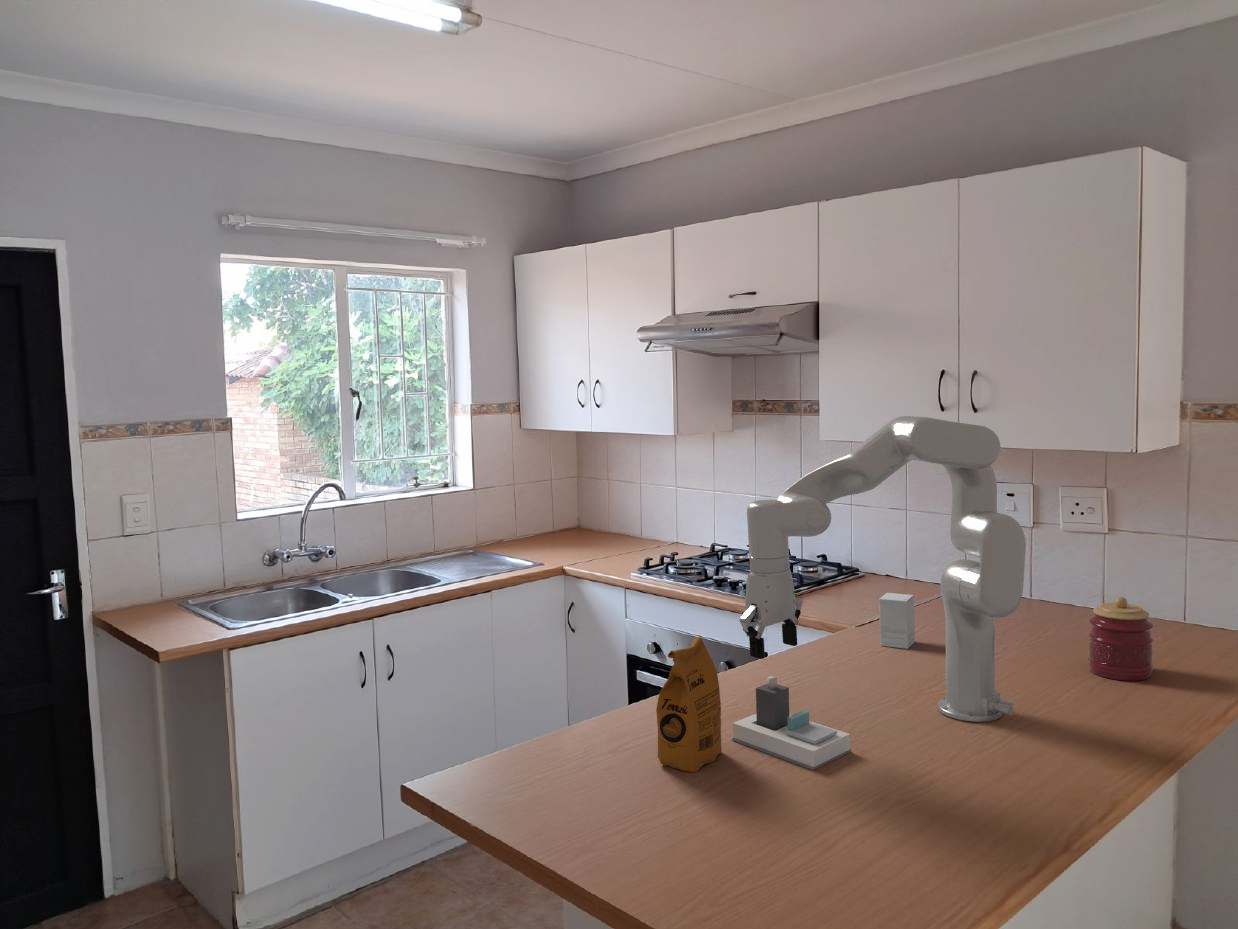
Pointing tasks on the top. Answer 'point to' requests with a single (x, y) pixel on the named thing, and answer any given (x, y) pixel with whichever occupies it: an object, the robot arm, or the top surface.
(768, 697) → the plug
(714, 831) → the top surface
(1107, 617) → the canister
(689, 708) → the coffee package
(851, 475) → the robot arm
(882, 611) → the supplement box
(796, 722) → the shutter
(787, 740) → the socket
